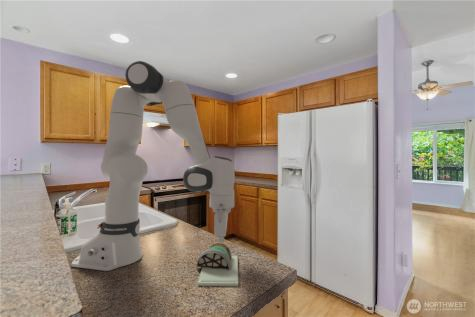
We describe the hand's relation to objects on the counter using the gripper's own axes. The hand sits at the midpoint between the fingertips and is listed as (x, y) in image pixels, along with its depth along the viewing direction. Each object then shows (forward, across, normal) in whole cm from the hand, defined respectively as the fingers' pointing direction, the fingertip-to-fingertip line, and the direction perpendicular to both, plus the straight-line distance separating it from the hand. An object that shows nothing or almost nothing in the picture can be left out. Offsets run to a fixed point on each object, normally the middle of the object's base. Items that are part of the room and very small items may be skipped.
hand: (221, 240), depth 80 cm
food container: (+5, +5, +1) cm, 7 cm away
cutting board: (+8, -4, 0) cm, 9 cm away
